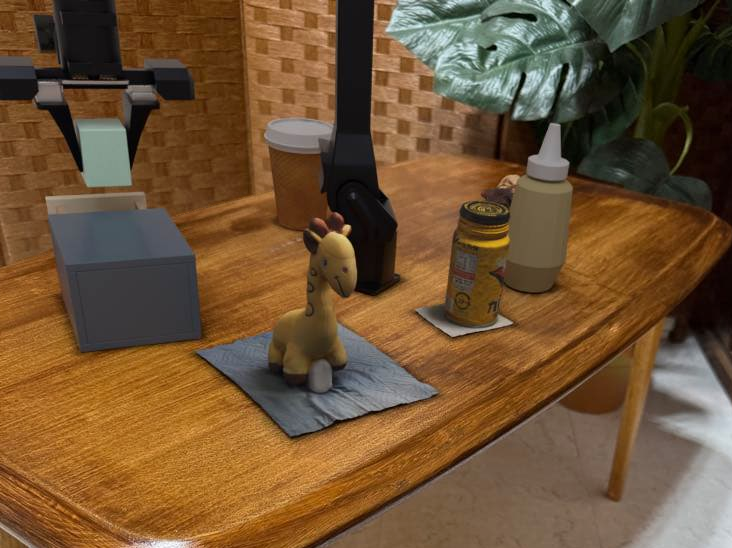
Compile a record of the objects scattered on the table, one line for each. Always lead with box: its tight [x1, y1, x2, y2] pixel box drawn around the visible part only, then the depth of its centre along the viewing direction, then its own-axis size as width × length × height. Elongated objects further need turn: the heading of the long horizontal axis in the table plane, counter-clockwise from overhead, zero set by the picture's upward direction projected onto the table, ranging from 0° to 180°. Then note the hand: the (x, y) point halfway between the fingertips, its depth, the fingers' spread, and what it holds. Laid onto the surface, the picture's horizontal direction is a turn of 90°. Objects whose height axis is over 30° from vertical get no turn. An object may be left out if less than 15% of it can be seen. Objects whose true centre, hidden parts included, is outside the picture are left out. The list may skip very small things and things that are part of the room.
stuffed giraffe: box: [194, 212, 439, 437], centre depth 77 cm, size 16×18×16 cm
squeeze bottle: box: [503, 122, 574, 293], centre depth 97 cm, size 8×8×18 cm
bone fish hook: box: [480, 174, 521, 210], centre depth 123 cm, size 9×5×18 cm
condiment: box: [414, 200, 514, 338], centre depth 90 cm, size 7×8×12 cm
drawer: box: [44, 191, 148, 216], centre depth 93 cm, size 17×10×7 cm, turn 24°
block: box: [72, 118, 133, 188], centre depth 88 cm, size 4×4×6 cm
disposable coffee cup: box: [263, 117, 334, 231], centre depth 110 cm, size 10×10×12 cm
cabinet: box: [47, 207, 202, 353], centre depth 85 cm, size 14×12×9 cm
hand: (105, 170), depth 89 cm, fingers closed on block, 4 cm apart
